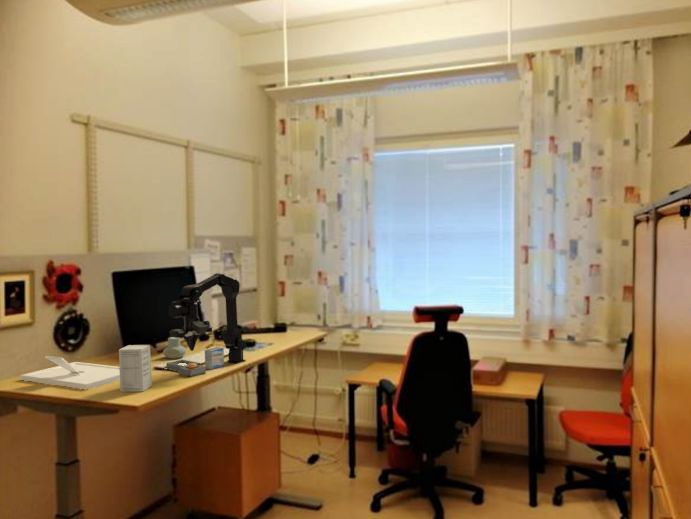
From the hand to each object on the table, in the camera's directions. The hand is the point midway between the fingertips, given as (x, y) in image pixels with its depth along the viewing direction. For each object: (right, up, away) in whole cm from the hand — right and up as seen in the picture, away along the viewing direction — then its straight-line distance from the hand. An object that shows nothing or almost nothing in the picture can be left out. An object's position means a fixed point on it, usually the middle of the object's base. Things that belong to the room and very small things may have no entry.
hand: (192, 350), depth 250 cm
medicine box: (+7, -10, +13) cm, 18 cm away
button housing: (0, -10, 0) cm, 10 cm away
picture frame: (-47, -12, -2) cm, 49 cm away
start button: (0, -8, 0) cm, 8 cm away
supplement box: (-16, -12, -22) cm, 30 cm away
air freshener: (-18, -9, +36) cm, 41 cm away
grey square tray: (-7, -10, +12) cm, 17 cm away
